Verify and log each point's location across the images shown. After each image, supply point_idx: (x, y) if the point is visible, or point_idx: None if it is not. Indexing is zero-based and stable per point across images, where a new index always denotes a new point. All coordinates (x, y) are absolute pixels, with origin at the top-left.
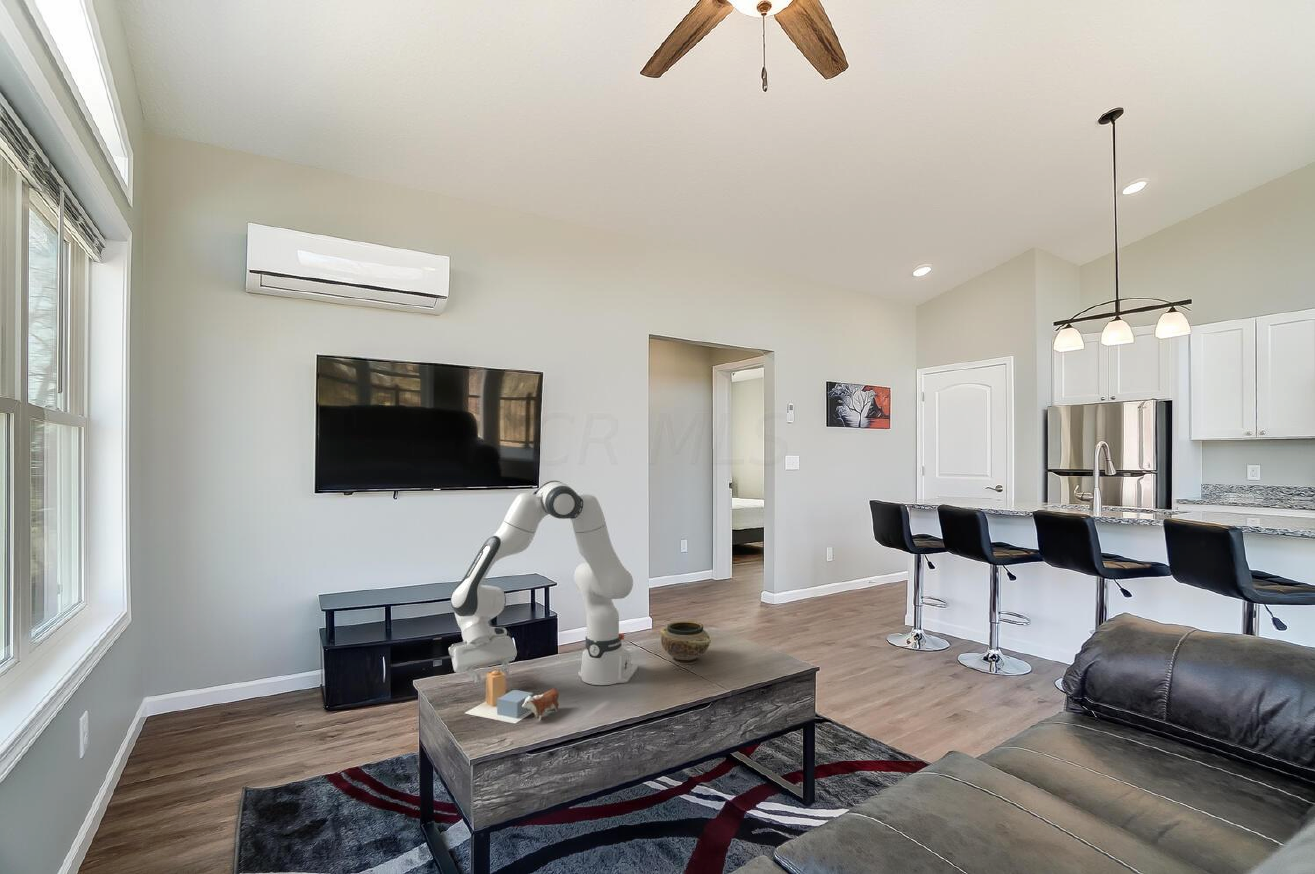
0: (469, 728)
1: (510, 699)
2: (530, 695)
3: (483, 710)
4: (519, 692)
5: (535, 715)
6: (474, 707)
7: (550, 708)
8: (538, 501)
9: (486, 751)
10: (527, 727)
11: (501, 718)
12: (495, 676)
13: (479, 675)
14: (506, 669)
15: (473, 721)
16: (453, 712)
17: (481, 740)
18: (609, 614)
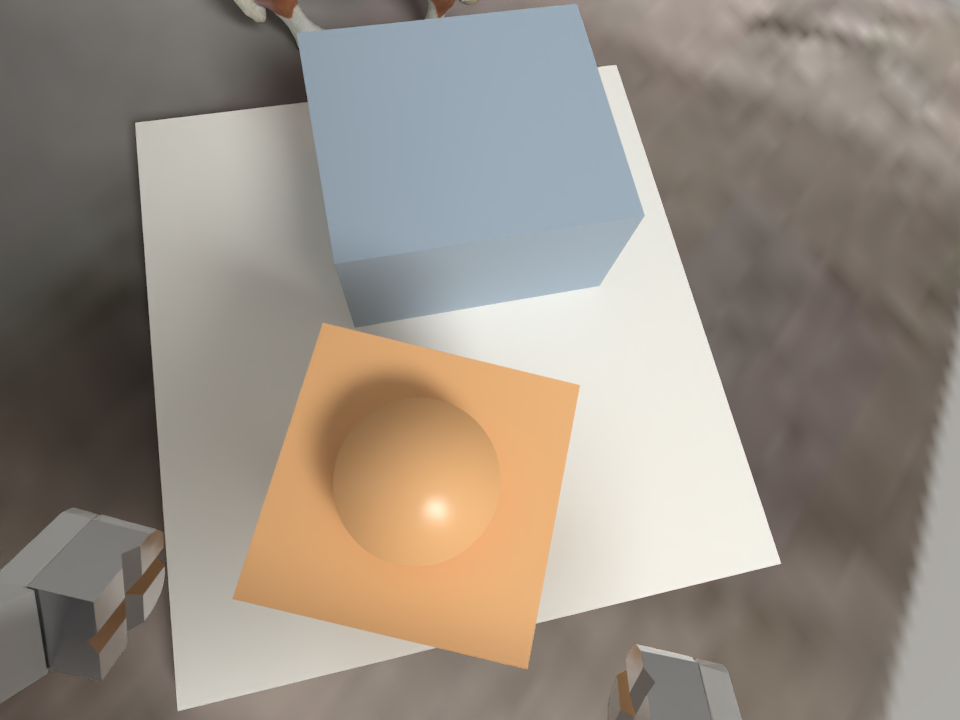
0: (848, 327)
1: (564, 100)
2: (351, 33)
3: (622, 458)
4: (367, 153)
5: (448, 8)
6: (636, 598)
7: (262, 15)
8: None
9: (926, 3)
10: None
11: None
12: (503, 393)
13: (655, 712)
14: (68, 554)
15: (759, 406)
16: None
17: (879, 120)
18: None
